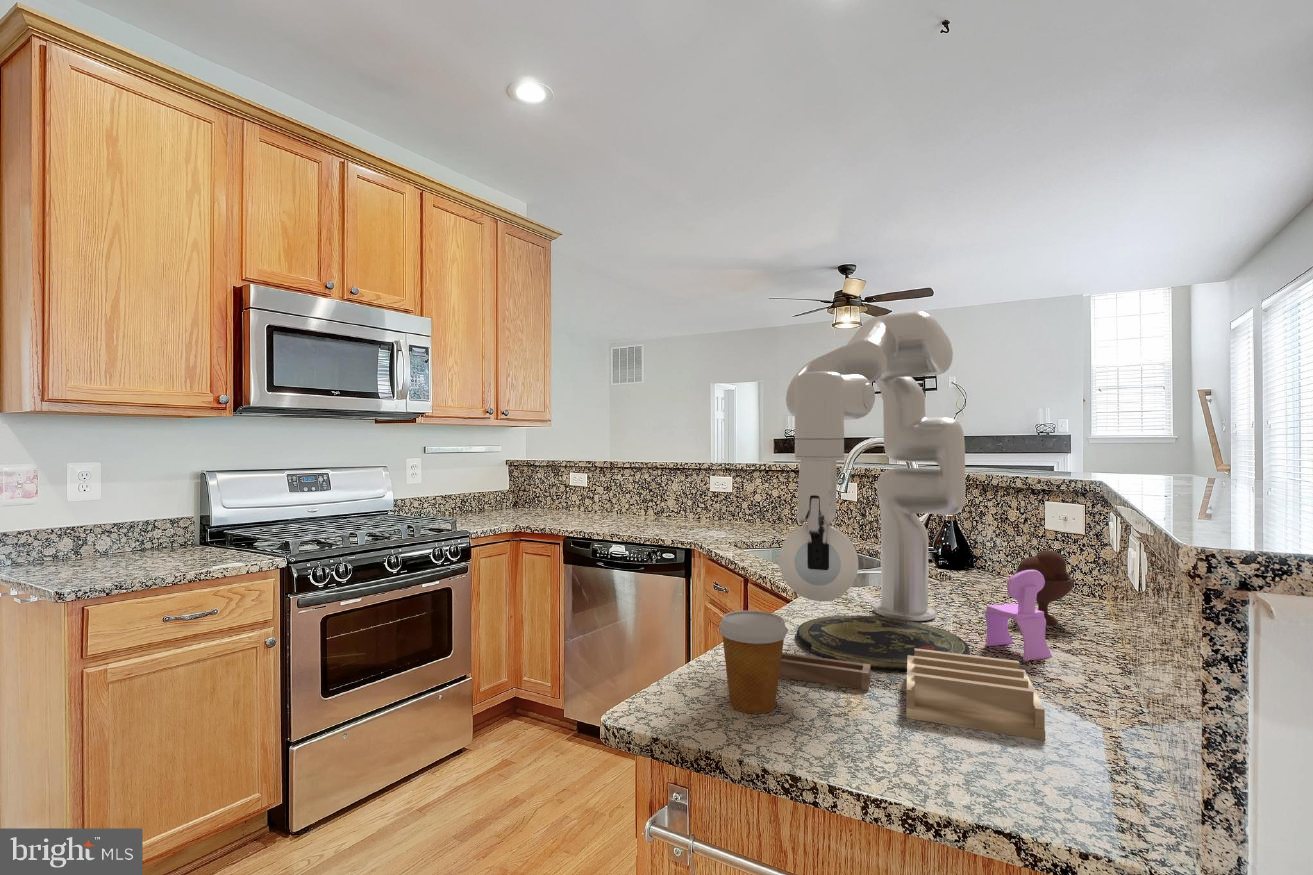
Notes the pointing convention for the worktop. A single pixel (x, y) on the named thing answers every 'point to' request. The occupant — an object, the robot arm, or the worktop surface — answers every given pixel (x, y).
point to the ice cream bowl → (1049, 579)
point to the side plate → (818, 581)
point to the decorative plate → (874, 640)
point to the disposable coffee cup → (753, 658)
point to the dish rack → (973, 693)
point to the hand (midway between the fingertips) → (819, 566)
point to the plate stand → (825, 671)
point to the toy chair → (1020, 616)
